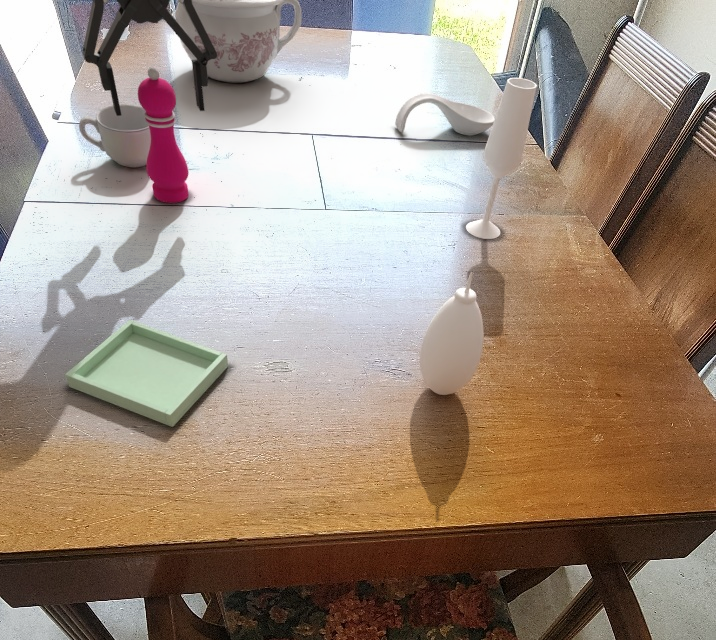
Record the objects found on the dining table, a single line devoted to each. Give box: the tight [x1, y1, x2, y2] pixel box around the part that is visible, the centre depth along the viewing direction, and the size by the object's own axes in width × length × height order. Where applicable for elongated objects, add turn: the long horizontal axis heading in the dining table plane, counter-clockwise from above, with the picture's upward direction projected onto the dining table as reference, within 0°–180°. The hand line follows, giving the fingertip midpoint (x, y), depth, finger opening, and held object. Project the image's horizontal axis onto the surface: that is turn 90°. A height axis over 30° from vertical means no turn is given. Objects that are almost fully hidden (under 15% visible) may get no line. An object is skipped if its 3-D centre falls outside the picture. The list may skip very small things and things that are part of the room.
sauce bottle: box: [419, 272, 485, 396], centre depth 78 cm, size 8×8×18 cm
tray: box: [64, 319, 229, 428], centre depth 80 cm, size 16×14×2 cm
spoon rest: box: [394, 92, 496, 136], centre depth 140 cm, size 24×12×7 cm, turn 105°
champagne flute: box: [465, 77, 538, 240], centre depth 105 cm, size 7×7×24 cm
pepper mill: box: [137, 66, 190, 204], centre depth 104 cm, size 7×7×20 cm
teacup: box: [78, 103, 151, 168], centre depth 115 cm, size 14×11×8 cm
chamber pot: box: [175, 0, 303, 84], centre depth 144 cm, size 28×28×21 cm
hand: (160, 110), depth 101 cm, fingers open, 13 cm apart
